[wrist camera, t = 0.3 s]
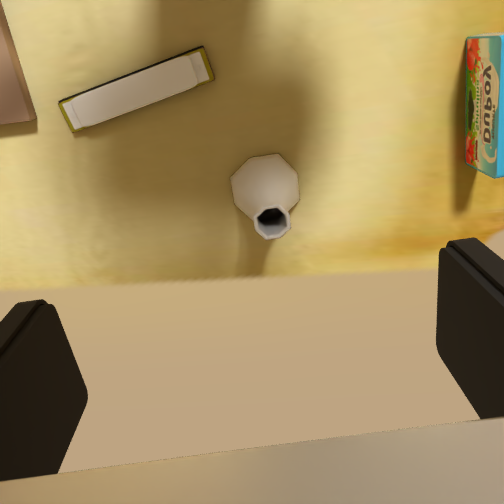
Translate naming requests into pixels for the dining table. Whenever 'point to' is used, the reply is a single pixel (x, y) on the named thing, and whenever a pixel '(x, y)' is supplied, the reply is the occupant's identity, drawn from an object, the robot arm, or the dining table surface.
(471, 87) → the yogurt
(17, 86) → the board
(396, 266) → the dining table surface
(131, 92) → the harmonica
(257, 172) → the flask
